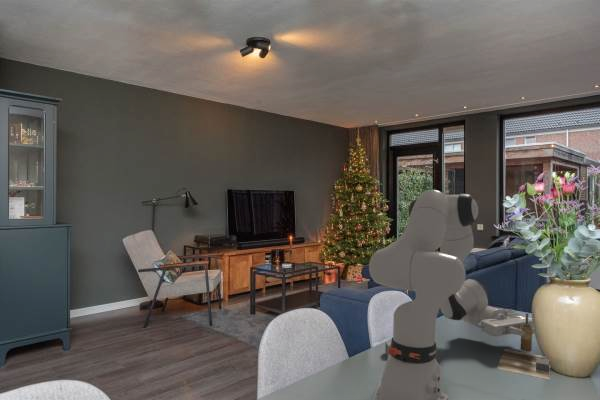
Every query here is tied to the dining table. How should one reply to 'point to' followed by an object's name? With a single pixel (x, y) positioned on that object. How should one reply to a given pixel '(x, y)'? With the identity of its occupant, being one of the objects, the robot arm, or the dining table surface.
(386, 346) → the usb wall charger
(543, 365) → the block
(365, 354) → the dining table surface
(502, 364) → the subfloor panel
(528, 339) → the awl
